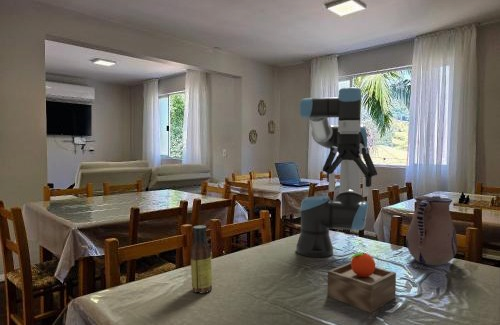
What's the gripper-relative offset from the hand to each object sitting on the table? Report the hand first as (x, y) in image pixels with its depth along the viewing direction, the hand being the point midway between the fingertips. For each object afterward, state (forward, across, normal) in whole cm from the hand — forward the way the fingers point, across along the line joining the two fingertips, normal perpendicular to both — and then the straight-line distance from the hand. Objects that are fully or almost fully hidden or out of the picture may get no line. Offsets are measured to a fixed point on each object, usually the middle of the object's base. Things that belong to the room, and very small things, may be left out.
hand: (347, 193), depth 122 cm
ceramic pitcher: (+28, +17, +30) cm, 45 cm away
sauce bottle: (+27, -21, -48) cm, 59 cm away
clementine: (+21, +14, -16) cm, 30 cm away
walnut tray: (+27, +15, -16) cm, 35 cm away
